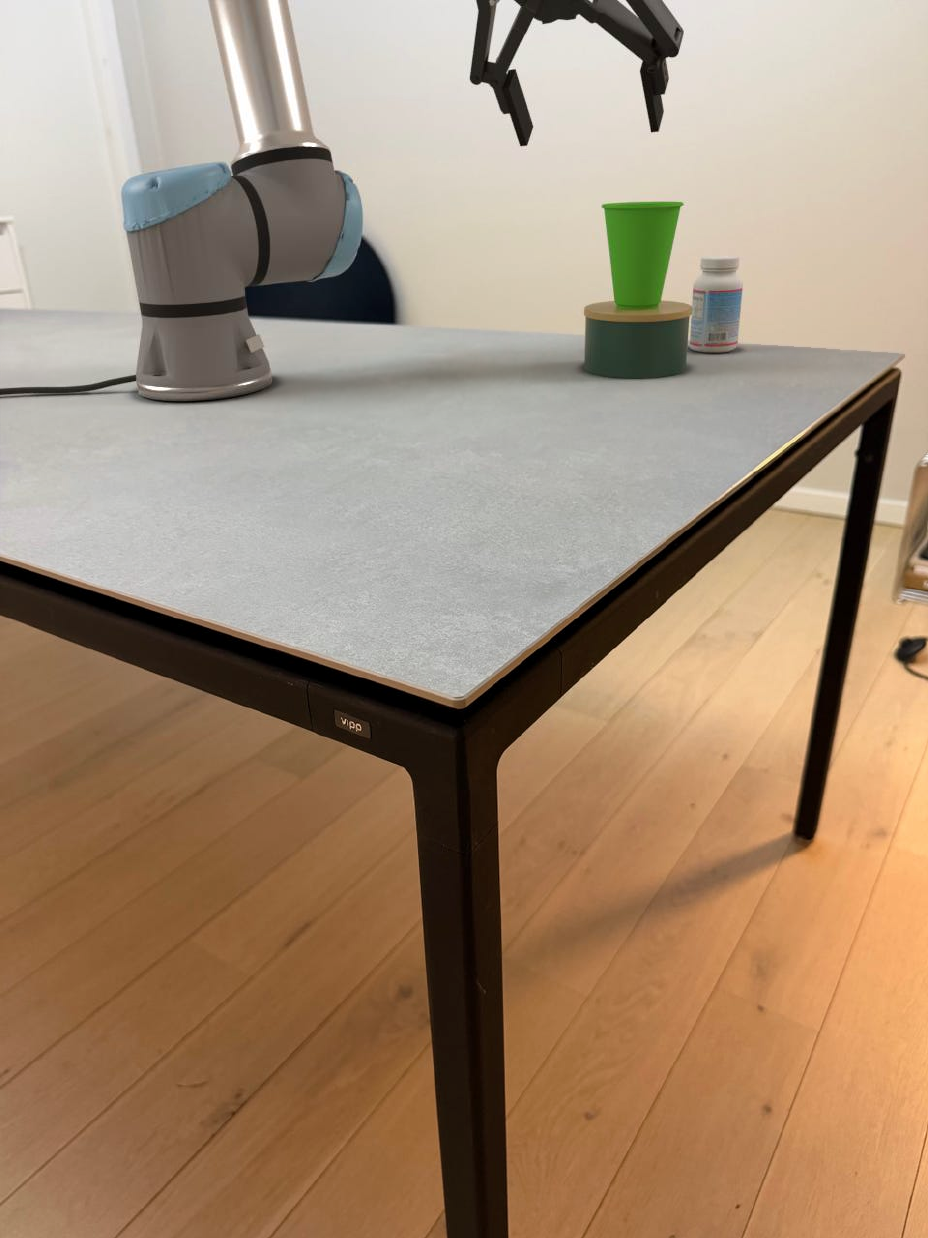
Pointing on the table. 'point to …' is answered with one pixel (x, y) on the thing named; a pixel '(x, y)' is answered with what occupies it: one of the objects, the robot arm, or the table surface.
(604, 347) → the tin
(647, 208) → the cup
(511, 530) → the table surface
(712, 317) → the pill bottle
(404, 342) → the table surface
